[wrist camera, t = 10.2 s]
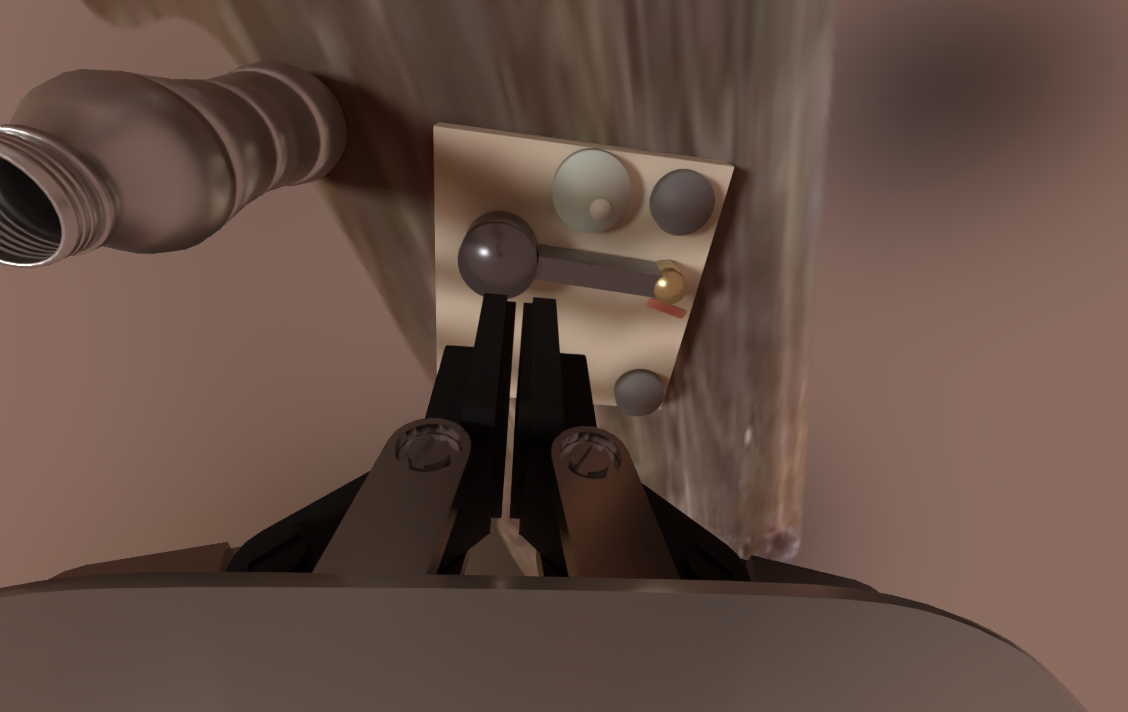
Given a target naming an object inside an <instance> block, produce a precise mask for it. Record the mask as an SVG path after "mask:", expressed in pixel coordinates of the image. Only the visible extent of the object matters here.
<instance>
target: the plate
mask: <svg viewBox="0 0 1128 712" xmlns="http://www.w3.org/2000/svg"><path fill="white" fill-rule="evenodd" d="M433 135H434V200H435V265H436V330H437V373H438V370H439V366H440V363H441V359H442V356H443V352H444V349H445V346H446V345H455V346H469V347H474V344H475V338H476V333H477V328H478V323H479V317H480V312H481V307H482V302H483V296H481V295H479V294H477V293H475V292H474V291H473V290H472V289H470V288H469V287H468V286H467V284H466V283H465V282H464V280H463V278H462V277H461V274H460V272H459V268H458V252H459V249H460V246H461V244H462V242H463V239H464V237H465V235H466V232H467V230H468V228H469V226H470V225H471V224H472V223H473V221H474V220H476V219H477V218H478V217H480V216H481V215H483V214H485V213H488V212H493V211H505V212H510V213H513V214H515V215H517V216H519V217H520V218H522V219H523V220H524V221H526V222H527V223H528V225H529V226H530V227H531V228H532V230H533V232H534V234H535V236H536V239H537V244H538V247H539V244H543V245H549V246H555V247H562V248H568V249H574V250H580V251H587V252H593V253H599V254H605V255H611V256H618V257H624V258H630V259H636V260H643V261H649V262H657V261H659V260H670V261H672V262H673V263H675V265H676V266H677V268H678V269H679V271H680V272H681V274H682V276H683V277H684V279H685V280H686V282H687V292H686V295H685V296H684V297H683V299H682V300H680V301H679V302H677V303H675V304H663V303H661V302H659V301H658V300H657V298H653V297H646V296H639V295H633V294H626V293H619V292H613V291H606V290H600V289H593V288H586V287H580V286H573V285H567V284H560V283H553V282H547V281H540V280H535V278H534V280H533V282H532V284H531V285H530V286H529V288H528V289H527V290H526V291H524V292H523V293H522V294H520V295H518V296H516V297H514V298H511V299H507V301H513V302H516V313H515V328H514V342H513V357H512V372H511V386H510V397H512V398H516V393H517V380H518V368H519V355H520V342H521V329H522V317H523V304H524V302H526V303H532V302H533V297H539V298H551V299H556V303H557V317H558V331H559V345H560V353H569V354H584V355H585V356H586V359H587V365H588V372H589V378H590V385H591V392H592V399H593V404H599V405H612V406H618V408H619V409H620V410H621V411H622V412H623V413H625V414H628V415H631V416H644V415H647V414H650V413H652V412H654V411H655V410H656V409H661V407H662V404H663V400H664V397H665V394H666V391H667V387H668V384H669V381H670V377H671V374H672V371H673V368H674V364H675V361H676V358H677V354H678V351H679V348H680V345H681V341H682V338H683V335H684V331H685V328H686V325H687V322H688V318H689V315H690V312H691V308H692V305H693V302H694V299H695V295H696V292H697V289H698V285H699V282H700V279H701V276H702V272H703V269H704V266H705V262H706V259H707V256H708V253H709V249H710V246H711V243H712V239H713V236H714V233H715V229H716V226H717V223H718V220H719V216H720V213H721V210H722V206H723V203H724V200H725V197H726V193H727V190H728V187H729V183H730V180H731V177H732V174H733V170H734V166H732V165H731V164H729V163H727V162H725V161H721V160H714V159H706V158H699V157H692V156H684V155H677V154H670V153H662V152H655V151H648V150H640V149H633V148H626V147H618V146H611V145H604V144H596V143H589V142H582V141H574V140H567V139H560V138H552V137H545V136H538V135H530V134H523V133H516V132H508V131H501V130H494V129H486V128H479V127H472V126H464V125H457V124H450V123H442V122H439V123H437V124H436V125H434V126H433Z"/></svg>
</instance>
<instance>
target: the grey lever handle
mask: <svg viewBox="0 0 1128 712" xmlns="http://www.w3.org/2000/svg"><path fill="white" fill-rule="evenodd" d="M458 268H459V272H460V274H461V277H462V278H463V280H464V282H465V283H466V284H467V286H468V287H469V288H470V289H472V290H473V291H474V292H475V293H477V294H479V295H481V296H484V293H490V294H502V295H508V299H511V298H514V297H516V296H518V295H520V294H522V293H523V292H524V291H526V290H527V289H528V288H529V286H530V285H531V284H532V282H533V280H534V278H535V280H540V281H547V282H553V283H560V284H567V285H573V286H580V287H586V288H593V289H600V290H606V291H613V292H619V293H626V294H633V295H639V296H646V297H653V298H657V300H658V301H659V302H661V303H663V304H675V303H677V302H679V301H680V300H682V299H683V297H684V296H685V295H686V292H687V282H686V280H685V279H684V277H683V276H682V274H681V272H680V271H679V269H678V268H677V266H676V265H675V263H673V262H672V261H670V260H659V261H657V262H649V261H643V260H636V259H630V258H624V257H618V256H611V255H605V254H599V253H593V252H587V251H580V250H574V249H568V248H562V247H555V246H549V245H543V244H539V247H538V244H537V239H536V236H535V234H534V232H533V230H532V228H531V227H530V226H529V225H528V223H527V222H526V221H524V220H523V219H522V218H520V217H519V216H517V215H515V214H513V213H510V212H505V211H493V212H488V213H485V214H483V215H481V216H480V217H478V218H477V219H476V220H474V221H473V223H472V224H471V225H470V226H469V228H468V230H467V232H466V235H465V237H464V239H463V242H462V244H461V246H460V249H459V252H458Z"/></svg>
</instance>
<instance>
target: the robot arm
mask: <svg viewBox="0 0 1128 712" xmlns="http://www.w3.org/2000/svg"><path fill="white" fill-rule="evenodd" d="M507 299H508V295H502V294H490V293H484V296H483V302H482V307H481V312H480V317H479V323H478V328H477V333H476V338H475V344H474V347H469V346H455V345H446V346H445V349H444V352H443V356H442V359H441V363H440V366H439V370H438V373H437V377H436V381H435V384H434V388H433V391H432V395H431V399H430V403H429V406H428V409H427V413H426V417H425V419H420V420H415V421H413V422H411V423H408V424H405V425H404V426H402V427H401V428H399V429H398V430H396V431H395V432H394V433H393V435H392V436H391V437H390V438H389V440H388V441H387V443H386V444H385V446H384V448H383V450H382V451H381V453H380V455H379V457H378V458H377V460H376V462H375V464H374V465H373V467H372V469H371V471H369V472H367V473H366V474H364V475H362V476H360V477H358V478H357V479H355V480H353V481H351V482H349V483H348V484H346V485H344V486H342V487H341V488H339V489H337V490H335V491H333V492H331V493H330V494H328V495H326V496H324V497H322V498H321V499H319V500H317V501H315V502H313V503H312V504H310V505H308V506H306V507H304V508H303V509H301V510H299V511H297V512H295V513H294V514H292V515H290V516H288V517H286V518H285V519H283V520H281V521H279V522H277V523H275V524H274V525H272V526H270V527H268V528H267V529H265V530H263V531H261V532H260V533H258V534H257V535H256V536H254V537H252V538H251V539H250V540H248V541H247V542H246V543H245V544H244V545H243V546H240V547H234V548H231V547H230V545H229V543H228V542H223V543H216V544H211V545H204V546H198V547H192V548H186V549H180V550H174V551H168V552H162V553H155V554H149V555H143V556H137V557H131V558H125V559H119V560H113V561H107V562H101V563H94V564H89V565H84V566H80V567H77V568H74V569H70V570H66V571H64V572H62V573H60V574H58V575H56V576H54V577H52V578H50V579H48V580H42V581H35V582H30V583H24V584H19V585H13V586H8V587H2V588H0V712H1089V711H1088V710H1087V709H1086V708H1085V707H1084V706H1083V704H1081V702H1080V701H1079V700H1078V699H1077V698H1076V697H1075V696H1074V695H1073V694H1072V693H1071V692H1070V691H1069V690H1068V689H1067V688H1066V687H1065V686H1064V685H1063V684H1062V683H1061V682H1060V681H1059V680H1058V679H1057V678H1056V677H1055V676H1054V675H1053V674H1052V673H1051V672H1050V671H1049V670H1048V669H1047V668H1046V667H1044V666H1043V665H1042V664H1041V663H1040V662H1038V661H1037V660H1036V659H1035V658H1034V657H1033V656H1032V655H1030V654H1029V653H1027V652H1026V651H1025V650H1023V649H1022V648H1020V647H1019V646H1017V645H1016V644H1015V643H1013V642H1012V641H1010V640H1008V639H1006V638H1005V637H1003V636H1001V635H999V634H997V633H995V632H993V631H991V630H990V629H987V628H986V627H983V626H981V625H979V624H977V623H975V622H973V621H970V620H968V619H965V618H963V617H960V616H957V615H955V614H952V613H950V612H947V611H944V610H941V609H939V608H936V607H934V606H931V605H928V604H925V603H921V602H917V601H913V600H909V599H905V598H902V597H898V596H894V595H890V594H885V593H879V592H878V591H877V590H875V589H874V588H872V587H871V586H869V585H867V584H864V583H862V582H859V581H857V580H854V579H850V578H845V577H841V576H837V575H833V574H829V573H824V572H820V571H817V570H812V569H808V568H804V567H800V566H796V565H792V564H788V563H783V562H779V561H775V560H771V559H767V558H763V557H759V556H755V555H751V556H750V558H749V560H745V559H741V558H739V556H738V555H737V554H736V553H735V552H734V551H733V550H732V549H731V548H730V547H729V546H728V545H726V544H725V543H724V542H722V541H721V540H720V539H718V538H717V537H716V536H714V535H713V534H711V533H710V532H709V531H707V530H706V529H705V528H703V527H702V526H700V525H699V524H698V523H696V522H695V521H693V520H692V519H691V518H689V517H688V516H687V515H685V514H684V513H682V512H681V511H680V510H678V509H677V508H676V507H674V506H673V505H671V504H670V503H669V502H667V501H666V500H664V499H663V498H662V497H660V496H659V495H658V494H656V493H655V492H653V491H652V490H651V489H649V488H648V487H647V486H645V485H644V484H642V483H641V480H640V478H639V475H638V473H637V471H636V468H635V466H634V463H633V461H632V458H631V456H630V453H629V451H628V450H627V448H626V446H625V445H624V443H623V442H622V441H621V440H620V439H619V438H617V437H616V436H615V435H613V434H612V433H610V432H608V431H606V430H603V429H600V428H597V426H596V419H595V412H594V405H593V399H592V392H591V385H590V378H589V372H588V365H587V359H586V356H585V355H584V354H569V353H560V345H559V331H558V317H557V303H556V299H551V298H539V297H533V302H532V303H526V302H524V304H523V317H522V329H521V342H520V355H519V368H518V380H517V393H516V409H515V428H514V447H513V466H512V484H511V503H510V518H515V519H520V523H519V535H521V536H522V537H524V538H525V539H526V540H527V541H528V542H529V543H530V544H531V545H532V546H533V547H534V548H535V549H536V564H537V570H538V576H539V577H536V576H484V575H479V576H478V575H465V573H466V569H467V566H468V562H469V557H470V548H472V547H473V546H474V545H475V544H477V543H478V542H479V541H480V540H482V539H483V538H484V537H485V536H487V535H488V534H490V524H491V518H501V515H502V501H503V486H504V472H505V458H506V444H507V429H508V415H509V401H510V386H511V372H512V357H513V342H514V328H515V313H516V302H513V301H507Z"/></svg>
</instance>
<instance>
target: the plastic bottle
mask: <svg viewBox="0 0 1128 712" xmlns="http://www.w3.org/2000/svg"><path fill="white" fill-rule="evenodd" d="M346 142H347V127H346V120H345V117H344V114H343V111H342V109H341V107H340V105H339V103H338V101H337V99H336V98H335V96H334V95H333V94H332V92H331V91H330V90H329V88H328V87H326V86H325V85H324V84H323V83H322V82H321V81H320V80H319V79H318V78H316V77H315V76H313V75H312V74H310V73H309V72H306V71H304V70H302V69H300V68H297V67H295V66H292V65H289V64H285V63H281V62H277V61H259V62H253V63H250V64H247V65H244V66H241V67H239V68H237V69H235V70H233V71H231V72H229V73H227V74H225V75H222V76H218V77H214V78H209V79H192V80H191V79H169V78H162V77H156V76H150V75H143V74H137V73H130V72H124V71H112V70H91V69H90V70H89V69H79V70H74V71H68V72H63V73H61V74H59V75H57V76H55V77H53V78H51V79H49V80H47V81H45V82H43V83H42V84H40V85H38V86H36V87H34V88H32V89H31V90H30V91H29V92H28V93H27V94H26V95H25V96H24V97H23V98H22V99H21V100H20V102H19V104H18V105H17V107H16V109H15V111H14V113H13V116H12V118H11V120H10V122H9V124H4V125H0V264H3V265H7V266H12V267H18V268H34V267H41V266H46V265H50V264H53V263H55V262H58V261H60V260H63V259H65V258H67V257H69V256H76V255H82V254H85V253H88V252H90V251H92V250H95V249H97V248H100V247H102V246H104V247H108V248H112V249H116V250H121V251H127V252H132V253H136V254H157V253H166V252H173V251H180V250H186V249H188V248H191V247H193V246H196V245H198V244H200V243H201V242H203V241H204V240H205V239H207V238H209V237H210V236H212V235H213V234H214V233H216V232H217V231H218V230H220V229H221V228H222V227H223V226H224V225H225V224H226V223H227V222H228V221H229V220H231V219H232V217H234V216H235V215H236V214H237V213H238V212H239V211H240V210H241V209H243V208H244V207H245V206H246V205H247V204H249V203H250V202H252V201H254V200H255V199H257V198H258V197H259V196H261V195H263V194H264V193H266V192H268V191H271V190H274V189H278V188H280V187H284V186H294V185H300V184H305V183H309V182H313V181H315V180H318V179H320V178H322V177H323V176H325V175H326V174H328V173H329V172H330V171H331V170H332V168H333V167H334V166H335V165H336V164H337V162H338V161H339V159H340V158H341V156H342V154H343V152H344V150H345V146H346Z"/></svg>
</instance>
